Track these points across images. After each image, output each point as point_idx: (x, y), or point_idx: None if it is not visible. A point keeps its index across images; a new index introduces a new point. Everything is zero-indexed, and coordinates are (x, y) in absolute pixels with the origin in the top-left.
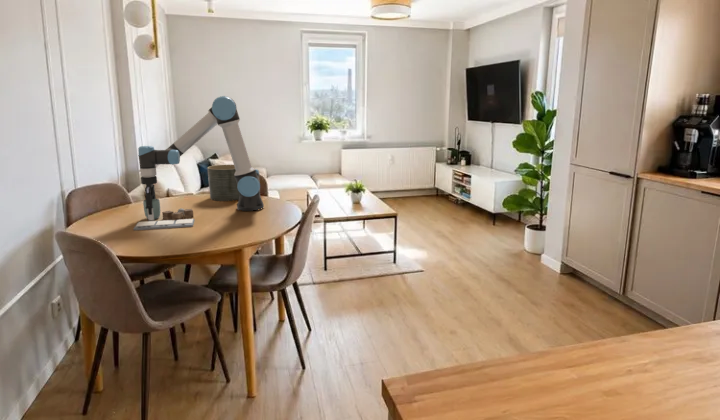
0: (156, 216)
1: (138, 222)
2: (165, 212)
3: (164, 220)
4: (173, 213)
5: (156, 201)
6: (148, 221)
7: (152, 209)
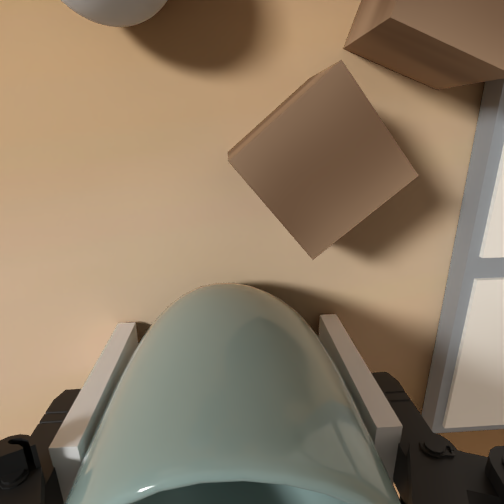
0: (296, 311)
1: (447, 428)
2: (358, 204)
3: (499, 184)
4: (495, 43)
5: (367, 490)
6: (464, 352)
7: (389, 414)
